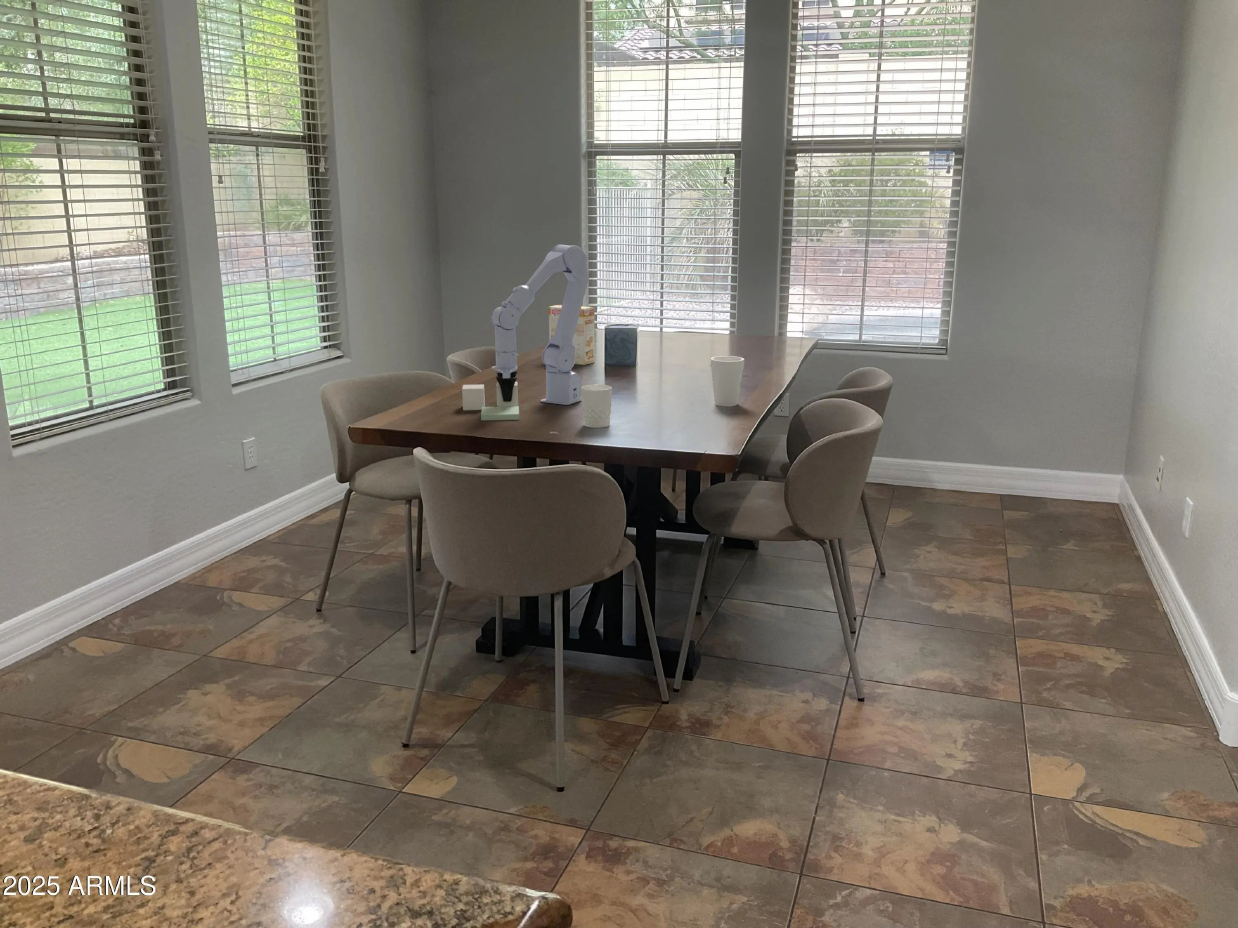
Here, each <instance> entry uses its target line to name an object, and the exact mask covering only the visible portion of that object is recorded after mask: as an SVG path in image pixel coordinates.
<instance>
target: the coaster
mask: <svg viewBox="0 0 1238 928" xmlns="http://www.w3.org/2000/svg"><path fill="white" fill-rule="evenodd" d="M480 411H481V413H480V421H517V420H518V421H519V420H520V406H519V405H518V406H502V407H497V406H485V407H482V410H480Z"/></svg>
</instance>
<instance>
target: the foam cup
mask: <svg viewBox="0 0 1238 928" xmlns="http://www.w3.org/2000/svg"><path fill="white" fill-rule="evenodd" d="M709 364H710V365H709V367H710V368H711V369H710V370H711V378H712V389H713V400H714V404H715V405H716V406H719V407H734V406H738V401H739V395H740V390H741V385H742V377H743V374H744V373H743V372H744V368H745V358H743V357H741V356H735V355H734V356H733V355H731V356H730V355H721V356H720V355H718V356H717V355H716V356H712V357H711V358H710V363H709Z"/></svg>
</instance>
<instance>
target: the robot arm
mask: <svg viewBox="0 0 1238 928" xmlns="http://www.w3.org/2000/svg"><path fill="white" fill-rule="evenodd" d="M587 261H588V256H587V254H586V252H584V250H583V248H582V247H580V246H578V245H566V244H561V243H560V244H557V245H555V246H553V248H552V250H551V251H549V252H548V253H547V254H546V256H545V258H544V260H543V261H542V263H540V265H539V267H537V269H536V270H535V271H534V273H533V274H532V275H531V277H530V278H529V279H528V280H527V282H526V283H525V284H524V285H522V284H521V285H518V286H517V287H516V286H515V287H514V288H513V289H512V290H511V291H512V293H511V294H510V295H509V296H508V297H507V298H506V300H503V301H502V302H501V303H500V304H501V306H499V307H496V308H495V309H494V310H493V311H492V315H491V316H490V322H491V323H492V325H493V326H494V339H495V340H494V343H495V347H494V348H495V366H491V370H493V371H496V377H495V378H496V381H497V382H498V383H499V385H500V388H501V393H502V398H503V401H504V402H511V400H512V394H513V388H514V384H515V382H517V379H518V377H517V374H518V372H517V370H518V368H519V367H518V364H517V363H518V360H517V332H516V328H517V326H518V325H519V323H520V317H521V316H522V315H523V314H524V313H525V311H526V310H527V309H528V308H529V307H530V305H531V304H532V303H533V302H534V301H535V300H536V299H535V297H536V296H535V294H536V292H537V291H538V290H539V289H540V288H542V286H543V285H544V284H545V283H546V282H547V281H548V279H549V278H551V276H552V275H554V274H555V273H560V272H562V273H563V275H565V277H566V279H567V285H566V289H565V292H564V296H563V301H562V304H561V305H562V307H561V311H560V315H559V319H558V323H557V326H556V330H555V334H554V336H553V337H552V338H551V339H550V340H548V342H547V345H546V347H545V348H544V349H543V351H542V353H541V360H542V362H543V364H544V365H545V385H546V387H545V388H546V390H545V391H546V395H545V396H546V397H545V398H542V399H540V402H542V403H549V404H557V405H565V406H568V405H572V404H575V403H578V402H580V401H581V402H582V395H581V377H580V375H579V374H578V372H574V371H572V369H573V367H574V366H575V365H576V364H575V355H574V353H575V345H574V342H573V337H574V333H575V329H576V325H577V321H578V318H579V314H580V310H581V306H582V305H583V302H584V298H585V295H586V290H587V287H588V282H589V271H588V266H587Z"/></svg>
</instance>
